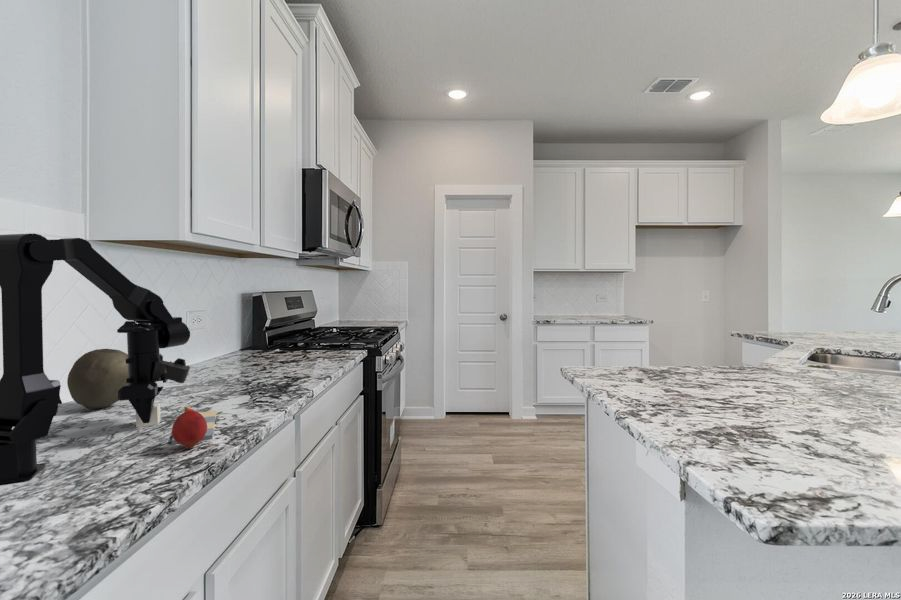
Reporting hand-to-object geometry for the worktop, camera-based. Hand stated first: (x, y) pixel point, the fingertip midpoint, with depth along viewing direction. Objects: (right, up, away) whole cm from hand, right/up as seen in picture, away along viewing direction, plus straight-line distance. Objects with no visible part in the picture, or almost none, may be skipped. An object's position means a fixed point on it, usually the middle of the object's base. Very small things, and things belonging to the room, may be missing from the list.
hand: (146, 422), depth 99 cm
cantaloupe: (-23, -1, +18) cm, 30 cm away
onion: (+17, -2, -12) cm, 21 cm away
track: (+11, -1, 0) cm, 11 cm away
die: (-2, -1, +3) cm, 4 cm away
